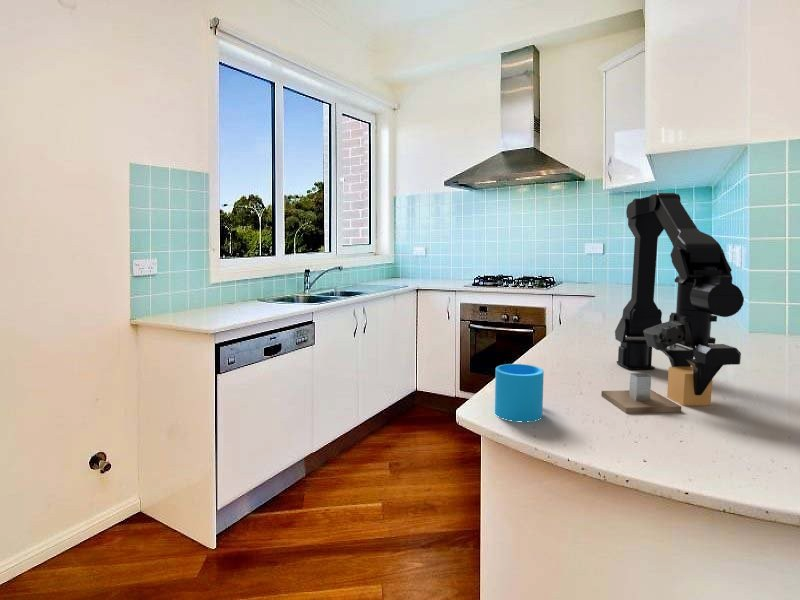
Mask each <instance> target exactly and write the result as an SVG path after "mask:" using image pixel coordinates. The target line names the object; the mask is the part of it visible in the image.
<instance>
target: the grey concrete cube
mask: <svg viewBox="0 0 800 600" xmlns="http://www.w3.org/2000/svg"><path fill="white" fill-rule="evenodd" d="M629 374H630V375H629V376H630V377H629V390H630V392H629V396H630V397H631V398H633V399H634V400H636V401H644V400H650V391H651V390H652V389H651V386H652V376H650V375H648V374H647V373H645V372H631V373H629Z"/></svg>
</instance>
